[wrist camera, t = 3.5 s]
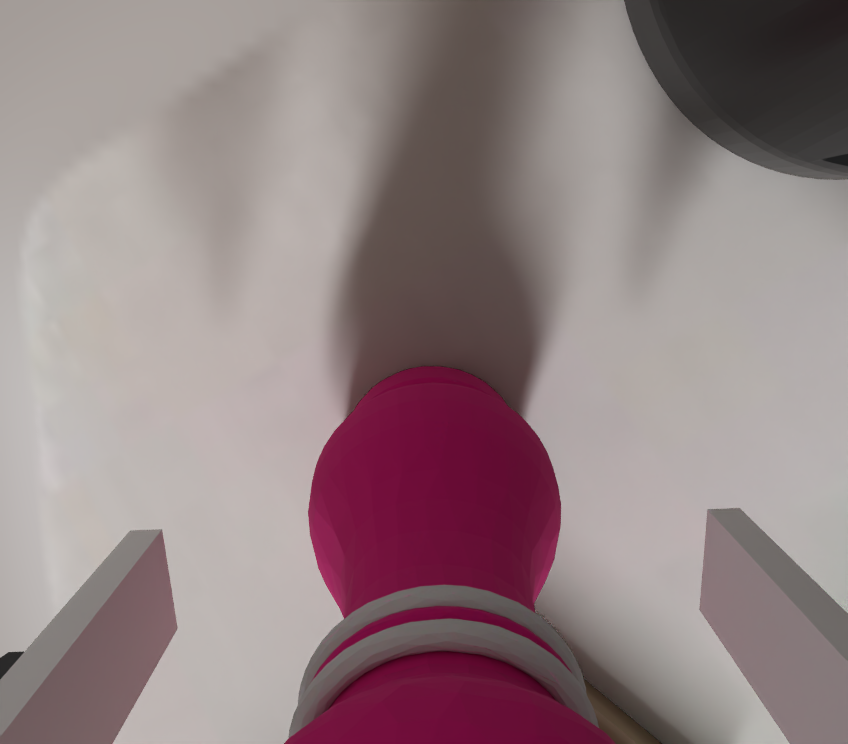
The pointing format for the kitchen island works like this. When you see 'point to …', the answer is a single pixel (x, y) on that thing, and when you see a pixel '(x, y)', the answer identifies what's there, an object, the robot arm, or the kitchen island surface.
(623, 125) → the kitchen island surface
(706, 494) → the kitchen island surface
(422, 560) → the pepper mill
